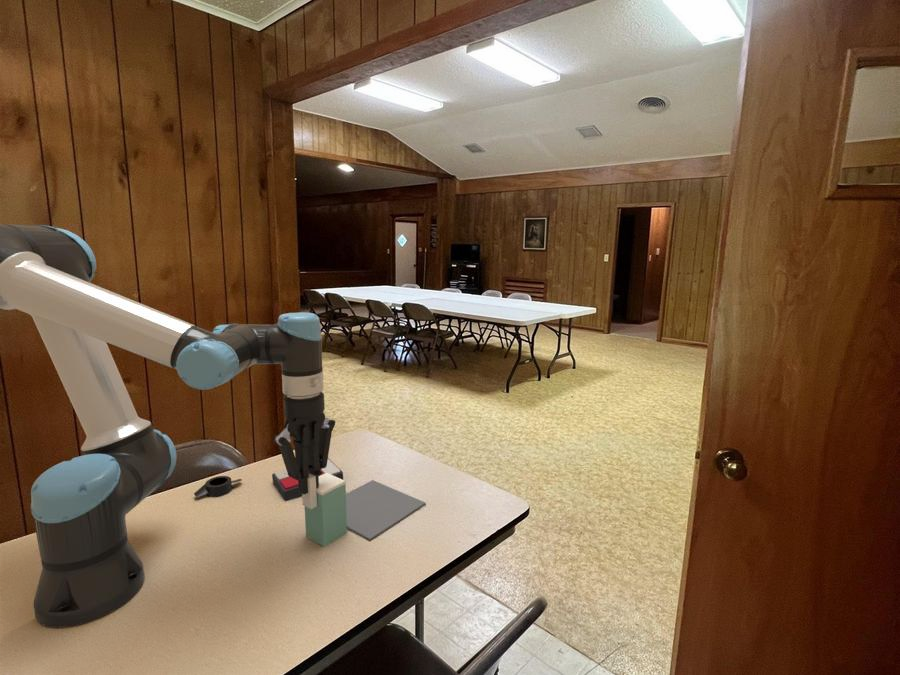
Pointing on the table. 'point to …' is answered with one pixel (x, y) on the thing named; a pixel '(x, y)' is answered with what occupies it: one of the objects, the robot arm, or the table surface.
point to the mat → (377, 509)
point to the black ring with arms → (216, 487)
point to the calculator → (290, 486)
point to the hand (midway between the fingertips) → (309, 505)
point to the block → (327, 511)
